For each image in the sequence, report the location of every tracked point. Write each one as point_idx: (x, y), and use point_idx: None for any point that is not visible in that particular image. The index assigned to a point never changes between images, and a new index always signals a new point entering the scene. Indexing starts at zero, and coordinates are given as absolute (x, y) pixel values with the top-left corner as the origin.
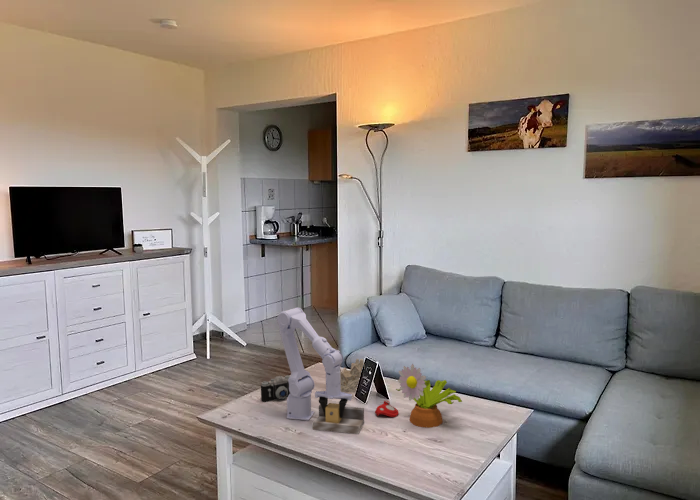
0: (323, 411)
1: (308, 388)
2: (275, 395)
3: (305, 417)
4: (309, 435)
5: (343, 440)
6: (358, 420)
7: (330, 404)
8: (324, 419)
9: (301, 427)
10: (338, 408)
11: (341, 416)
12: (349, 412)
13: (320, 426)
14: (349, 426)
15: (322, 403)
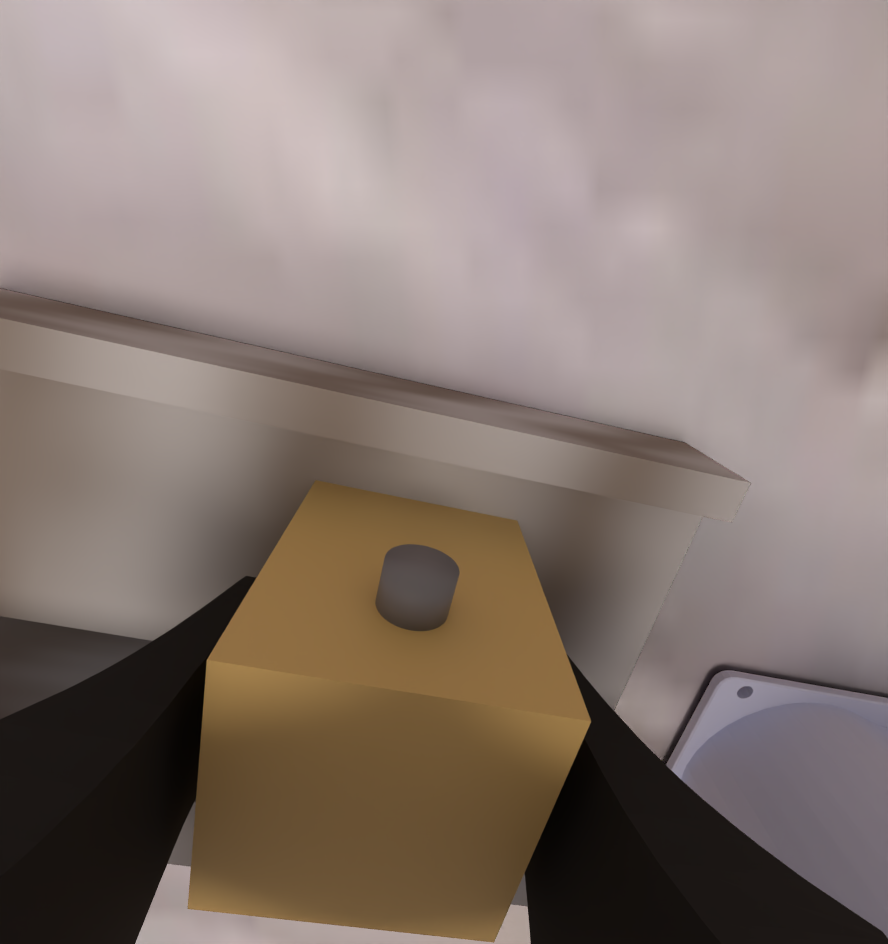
0: (596, 691)
1: None
2: None
3: (758, 715)
4: (749, 252)
5: (187, 36)
6: (24, 597)
7: (457, 884)
8: None
9: (824, 504)
10: (205, 701)
11: (231, 587)
12: None
13: (596, 433)
14: (67, 327)
15: (732, 880)
